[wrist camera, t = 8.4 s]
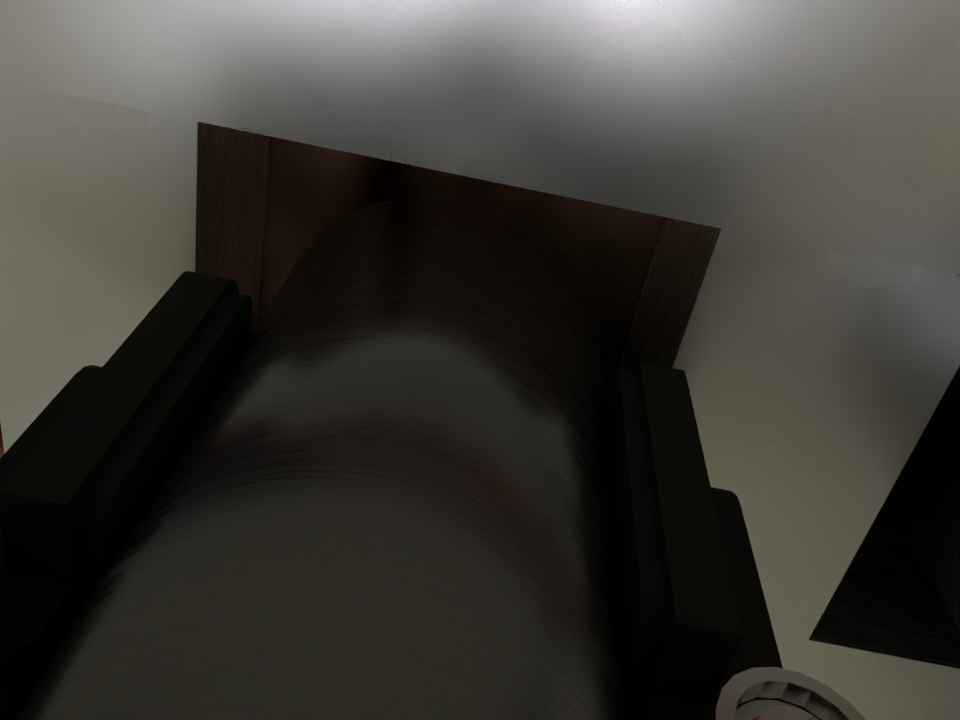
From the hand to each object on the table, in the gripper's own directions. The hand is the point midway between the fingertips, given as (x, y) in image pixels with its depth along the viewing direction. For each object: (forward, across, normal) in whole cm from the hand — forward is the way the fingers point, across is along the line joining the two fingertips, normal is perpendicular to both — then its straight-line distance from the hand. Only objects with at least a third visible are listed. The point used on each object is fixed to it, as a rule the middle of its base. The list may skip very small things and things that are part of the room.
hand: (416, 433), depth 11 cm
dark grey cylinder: (+2, 0, 0) cm, 2 cm away
